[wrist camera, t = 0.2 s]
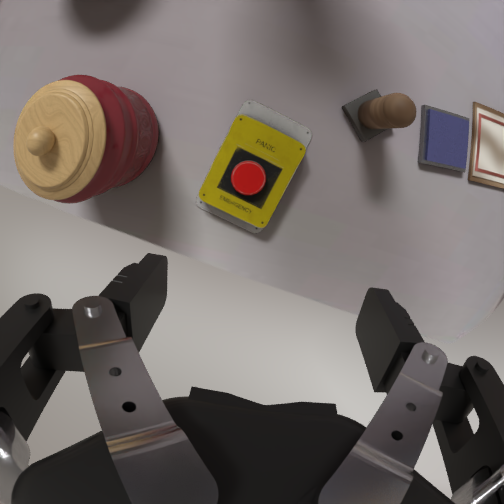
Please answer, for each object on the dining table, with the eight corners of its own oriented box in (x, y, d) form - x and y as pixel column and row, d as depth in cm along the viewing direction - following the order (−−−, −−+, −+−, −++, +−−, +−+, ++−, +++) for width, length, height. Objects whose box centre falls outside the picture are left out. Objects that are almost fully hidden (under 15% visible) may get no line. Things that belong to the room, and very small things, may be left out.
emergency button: (187, 211, 36) (245, 92, 31) (193, 203, 40) (246, 97, 35) (259, 246, 37) (321, 131, 32) (258, 234, 41) (314, 132, 36)
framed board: (472, 102, 33) (476, 101, 32) (513, 119, 33) (517, 119, 32) (467, 179, 37) (471, 180, 36) (508, 189, 37) (511, 190, 36)
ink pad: (421, 105, 34) (427, 104, 32) (465, 118, 34) (471, 118, 33) (417, 162, 37) (423, 163, 35) (461, 171, 37) (467, 172, 35)
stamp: (341, 106, 35) (373, 95, 24) (372, 90, 34) (413, 76, 23) (361, 141, 36) (399, 143, 26) (391, 124, 35) (436, 122, 25)
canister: (176, 161, 37) (118, 179, 21) (94, 199, 39) (12, 239, 22) (143, 72, 33) (71, 35, 17) (64, 117, 35) (-25, 118, 18)
